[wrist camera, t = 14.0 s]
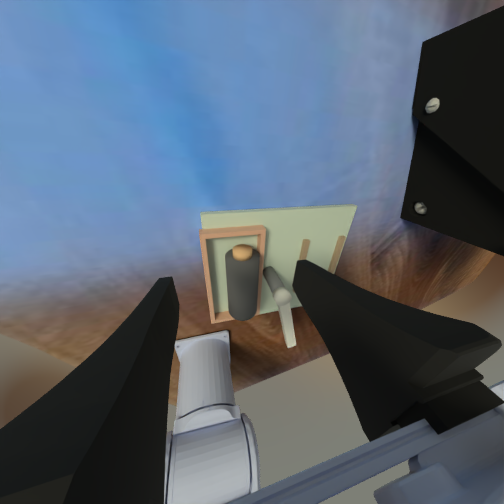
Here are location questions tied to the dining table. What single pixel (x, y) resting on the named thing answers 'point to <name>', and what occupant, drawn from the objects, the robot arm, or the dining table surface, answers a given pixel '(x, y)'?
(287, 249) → the board
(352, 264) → the dining table surface
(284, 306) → the lever handle
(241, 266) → the grey cylinder
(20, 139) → the dining table surface
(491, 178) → the electrical component
